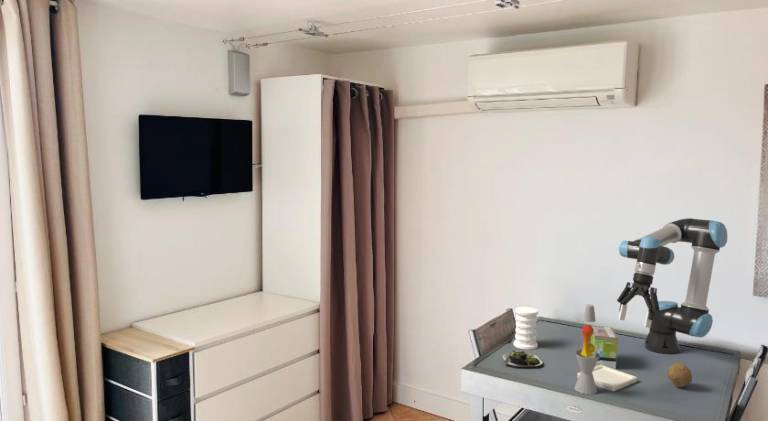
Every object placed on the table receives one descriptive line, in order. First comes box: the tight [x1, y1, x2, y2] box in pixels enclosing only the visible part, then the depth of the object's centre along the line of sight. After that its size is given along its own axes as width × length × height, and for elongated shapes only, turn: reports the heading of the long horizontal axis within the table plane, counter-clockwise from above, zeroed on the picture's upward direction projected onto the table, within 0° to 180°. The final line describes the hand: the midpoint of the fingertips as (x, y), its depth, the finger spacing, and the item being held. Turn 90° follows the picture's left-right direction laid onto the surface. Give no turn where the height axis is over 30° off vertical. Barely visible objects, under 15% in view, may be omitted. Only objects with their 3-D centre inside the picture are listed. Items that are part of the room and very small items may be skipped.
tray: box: [576, 365, 638, 392], centre depth 247 cm, size 17×17×2 cm
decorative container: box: [513, 306, 539, 351], centre depth 288 cm, size 12×12×18 cm
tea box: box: [589, 325, 619, 370], centre depth 266 cm, size 15×10×15 cm, turn 168°
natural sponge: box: [666, 362, 693, 388], centre depth 241 cm, size 9×9×10 cm
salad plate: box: [502, 349, 544, 370], centre depth 268 cm, size 19×18×5 cm
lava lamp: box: [574, 303, 599, 395], centre depth 235 cm, size 9×9×35 cm
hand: (633, 323), depth 245 cm, fingers open, 13 cm apart
